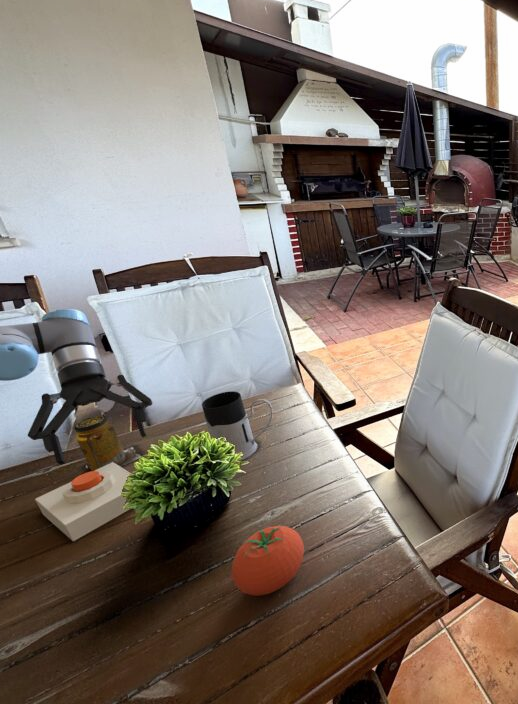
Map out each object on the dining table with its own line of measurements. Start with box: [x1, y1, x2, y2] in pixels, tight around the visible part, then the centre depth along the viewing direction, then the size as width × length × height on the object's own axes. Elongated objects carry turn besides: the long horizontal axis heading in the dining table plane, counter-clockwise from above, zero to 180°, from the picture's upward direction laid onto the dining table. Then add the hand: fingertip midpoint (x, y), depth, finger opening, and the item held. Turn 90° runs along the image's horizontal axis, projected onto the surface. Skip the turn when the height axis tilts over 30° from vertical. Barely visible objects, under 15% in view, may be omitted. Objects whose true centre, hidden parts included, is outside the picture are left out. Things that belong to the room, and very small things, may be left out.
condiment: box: [74, 415, 142, 471], centre depth 92 cm, size 7×8×12 cm
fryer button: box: [70, 470, 102, 492], centre depth 80 cm, size 4×4×2 cm
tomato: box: [231, 525, 305, 597], centre depth 66 cm, size 10×10×10 cm
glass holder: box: [201, 390, 274, 461], centre depth 96 cm, size 9×14×15 cm, turn 105°
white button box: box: [34, 462, 132, 542], centre depth 81 cm, size 14×12×6 cm
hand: (104, 448), depth 91 cm, fingers open, 13 cm apart
